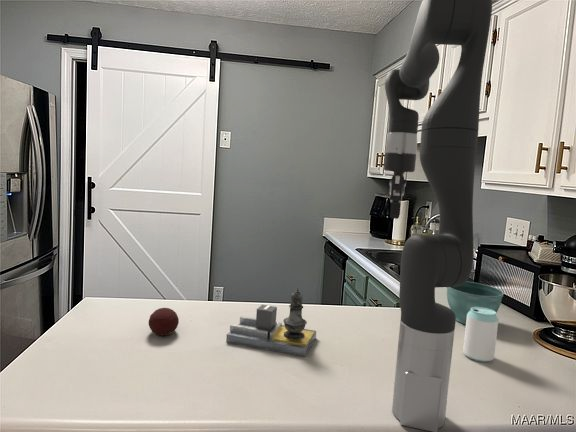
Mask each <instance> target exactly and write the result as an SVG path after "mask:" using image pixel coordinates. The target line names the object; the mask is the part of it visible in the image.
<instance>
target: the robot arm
mask: <svg viewBox="0 0 576 432" xmlns="http://www.w3.org/2000/svg"><path fill="white" fill-rule="evenodd" d="M418 9H419V10H418V13H417V17H416V21H415V24H414V27H413V31H412V32H413V33H412V35H411V40H410V43H409V48H408V51H407V53H406V56H405V57H404V59H403V61H402V63H401V65H400V68H397V69H396V68H395V69H391V70H390V71H389V72H388V73H387V75H386V76H385V77H386V78H384V79H385V80H384V89H385V91H384V92H385V95H386V99H387V106H388V116H389V117H388V127H387V129H388V130H387V137H386V141H385V150H384V151H385V153H384V161H383V162H384V163H383V170H384V171H385V172H393V175H392V176H391V178H389V201H390V210H389V218H391V219H395V220H397V219H399V218H400V215H401V206H402V201H403V197H404V195H405V190H406V189H405V187H406V185H407V179H405V177H404V175H405V173H414V172H415V171H416V163H417V162H416V161H417V160H416V159H417V152H418V151H417V150H418V129H419V120H420V119H419V113H418V111H417V110H415V109H412V108H409V107H405V106H404V105H402V103H401V101H400V100H404V101H406V100H407V101H420V100H422V99H424V98H425V97H426V96H427V95H428V93H429V90H430V89H429V88H430V79H431V77H432V76H433V75H434V74H435V72H436V70H437V69H438V66H439V63H440V51H439V49H438V46H437V45H440V46H441V45H444V46H446V45H448V46H460V47H461V51H460V57H459V61H458V65H457V66H456V67H457V68H456V69H455V71H454V73H453V75H452V77H451V78H450V80H449V81H448V83H447V85H445V87H444V89H442V91H441V93H440V94H439V95H438V97H437V98H436V99H435V100H434V102H433V103H432V104H431V106H430V108H429V109H428V110H427V111H426V113H425V115H424V117H423V120H422V124H421V130H420V131H421V132H420V143H419V144H420V145H419V161H420V165H421V168H422V170H423V172H424V175H425V177H426V179H427V182H428V184H429V186H430V188H431V190H432V192H433V194H434V196H435V199H436V201H437V205H438V210H439V228H438V229H439V232H438V234H414V235H411V236H410V237H409V238H407V240H406V241H405V242H404V245H403V247H402V251H401V257H400V269H399V270H400V273H399V274H400V275H399V276H400V278H399V295H398V296H399V299H398V300H399V306H400V307H399V308H400V323H399V331H398V343H397V350H396V351H397V352H396V363H395V374H394V382H393V384H394V385H393V395H392V397H393V398H392V406H391V407H392V408H391V411H392V414H393V415H394V417H396V419H397V420H398V421H399V425H401V426H406V427H408V428H409V427H410V428H415V429H420V430H424V431H427V432H438V431H439V429H440V428H442V427H443V426H444V425H445V421H446V414H447V413H446V411H447V406H448V395H449V394H448V393H449V383H450V376H451V367H452V366H451V365H452V356H453V347H454V341H455V340H454V339H455V330H456V316H455V313H454V312H453V311H452V310H451V309H450V307H448V306H446V305H443V304H441V303H438V302H436V291H435V290H436V288H447V287H457V286H461V285H463V284H464V283H465V282H468V280H469V278H470V276H471V274H472V270H473V265H474V222H473V220H474V217H473V213H474V211H473V209H474V208H473V207H474V186H475V185H474V183H475V171H476V170H475V169H476V168H475V167H476V158H477V150H478V139H479V126H480V125H479V124H480V119H479V118H480V107H481V106H480V104H481V102H480V101H481V94H482V93H481V90H482V81H483V73H484V72H483V71H484V67H485V66H484V65H485V59H486V54H487V48H488V41H489V34H490V30H491V29H490V27H491V21H492V14H493V13H492V12H493V0H422V2H421V4H420V6H419V8H418Z"/></svg>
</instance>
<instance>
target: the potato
mask: <svg viewBox="0 0 576 432" xmlns="http://www.w3.org/2000/svg"><path fill="white" fill-rule="evenodd" d="M179 320H180V319H179V316H178V314H177V312H176V311H175V310H174V309H172V308H169V307H161V308H158V309H155V310H154V311H153V312H152V313H151V314H150V316H149V319H148V326H149V329H150V331H151V332H152V333H154V334H155V335H157V336H161V337H162V336H163V337H164V336H168V335H170V334H172V333H174V332H175V331H176V330H177V328H178V325H179V323H180V321H179Z"/></svg>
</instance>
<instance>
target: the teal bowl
mask: <svg viewBox="0 0 576 432" xmlns="http://www.w3.org/2000/svg"><path fill="white" fill-rule="evenodd" d="M503 297H504V292H503V290H501V289H499V288H497V287H495V286H491V285H487V284H483V283H480V282H473V281H466V282H465V283H464V284H463V285H461V286H457V287H446V300H447V302H448V306H449V308H450V309H451V310H452V311H453V312H454V313H455V316H456V321H457V322H458V323H459V324H464V325H466V319H467V313H468V312H469V311H470V310H471V308H472V307H483V308H488V309H491V310H493V311H495V312H496V314H497V312H498V311H499V308H500V307H501V304H502V300H503Z"/></svg>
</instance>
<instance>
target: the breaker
mask: <svg viewBox="0 0 576 432" xmlns="http://www.w3.org/2000/svg"><path fill="white" fill-rule="evenodd" d="M277 311H278V307H277V306H274V305H266V304H261V305H259V307H257V308H256V315H255V316H256V317H255V318H256V328H258V329H264V330H269V335H270V332H271V331H272V330H273V328H274V327H275V326H276V322H277Z"/></svg>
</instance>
